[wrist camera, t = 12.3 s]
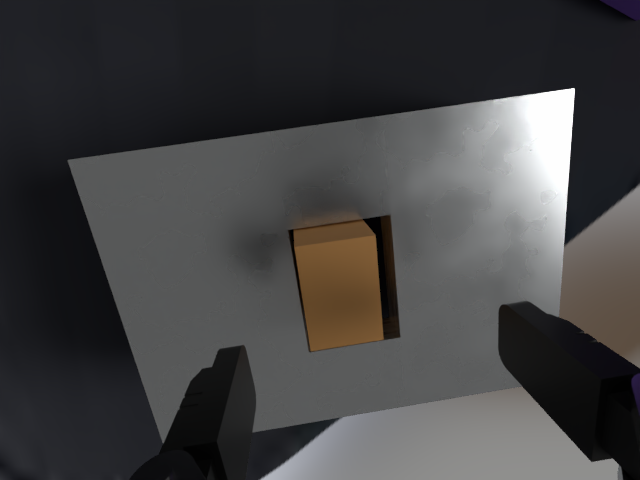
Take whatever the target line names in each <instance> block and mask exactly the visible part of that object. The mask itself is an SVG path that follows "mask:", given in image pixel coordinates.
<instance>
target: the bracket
mask: <svg viewBox="0 0 640 480" xmlns="http://www.w3.org/2000/svg"><path fill="white" fill-rule="evenodd" d="M600 1H602V2H604V3H606V4H607V5H609V6H611V7H613V8H614V9H616V10H618V11H620V12H621V13H623V14H625V15H627V16H628V17H630V18H632V19H634V20H635V21H636V20H639V19H640V0H600Z"/></svg>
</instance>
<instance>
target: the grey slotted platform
mask: <svg viewBox="0 0 640 480" xmlns="http://www.w3.org/2000/svg"><path fill="white" fill-rule="evenodd" d="M574 90H575V89H568V90H561V91H553V92H546V93H539V94H532V95H525V96H518V97H511V98H504V99H497V100H490V101H483V102H476V103H468V104H461V105H454V106H447V107H440V108H433V109H426V110H419V111H412V112H405V113H398V114H390V115H383V116H376V117H369V118H362V119H355V120H348V121H341V122H334V123H327V124H320V125H312V126H305V127H298V128H291V129H284V130H277V131H270V132H263V133H256V134H249V135H242V136H235V137H227V138H220V139H213V140H206V141H199V142H192V143H185V144H178V145H171V146H164V147H157V148H149V149H142V150H135V151H128V152H121V153H114V154H107V155H100V156H93V157H86V158H79V159H71V160H68V163H69V166H70V169H71V172H72V175H73V178H74V181H75V184H76V187H77V190H78V193H79V196H80V199H81V202H82V205H83V208H84V211H85V214H86V217H87V220H88V222H89V225H90V228H91V231H92V234H93V237H94V240H95V243H96V246H97V249H98V252H99V255H100V258H101V261H102V264H103V267H104V270H105V273H106V276H107V279H108V282H109V285H110V288H111V291H112V294H113V297H114V300H115V303H116V305H117V308H118V311H119V314H120V317H121V320H122V323H123V326H124V329H125V332H126V335H127V338H128V341H129V344H130V347H131V350H132V353H133V356H134V359H135V362H136V365H137V368H138V371H139V374H140V377H141V380H142V383H143V386H144V389H145V391H146V394H147V397H148V400H149V403H150V406H151V409H152V412H153V415H154V418H155V421H156V424H157V427H158V430H159V433H160V436H161V439H162V442H163V444H164V441H165V439H166V437H167V434H168V432H169V430H170V427H171V425H172V423H173V420H174V418H175V416H176V414H177V411H178V410H179V409H180V408H179V407H180V404H181V402H182V400H183V398H185V393H186V390H187V388H188V386H189V383H190V381H191V380H192V379H193V378H194V377H195V376H196V375H197V374H198V373H199V372H200V371H201V370H202V368H208V367H212V365H213V363H214V360H215V357H216V355H217V352H218V350H219V349H221V348H227V347H233V346H240V345H244V346H245V348H246V351H247V355H248V359H249V364H250V368H251V372H252V377H253V381H254V385H255V392H256V411H255V418H254V425H253V431H252V432H257V431H263V430H269V429H275V428H281V427H287V426H293V425H298V424H304V423H310V422H316V421H322V420H328V419H334V418H339V417H345V416H351V415H357V414H363V413H369V412H375V411H380V410H386V409H392V408H398V407H404V406H410V405H416V404H421V403H427V402H433V401H438V400H445V399H451V398H456V397H462V396H468V395H474V394H479V393H485V392H491V391H497V390H503V389H509V388H515V387H521V386H522V385H521V384H520V383H519V382H518V381H517V380H516V379H515V378H514V377H513V376H512V375H511V373H510V372H509V371H508V370H507V369H506V368H505V366H504V365H503V363H502V361H501V359H500V356H499V352H498V313H499V308H500V306H501V305H503V304H508V303H515V302H521V301H529V302H531V303H532V304H534V305H535V306H537V307H538V308H540V309H541V310H542V311H544V312H545V313H547V314H551V315H554V316H557V317H559V308H560V293H561V279H562V264H563V250H564V235H565V221H566V206H567V192H568V177H569V163H570V148H571V133H572V119H573V104H574ZM378 216H380V218H381V229H382V240H383V252H384V263H385V274H386V286H387V297H388V308H389V317H385V318H382V324H383V337H384V340H379V341H373V342H367V343H360V344H354V345H348V346H342V347H335V348H329V349H323V350H317V351H311V350H310V343H309V337H308V331H307V327H306V321H305V315H304V309H303V303H302V297H301V291H300V285H299V279H298V273H297V267H296V261H295V255H294V249H293V243H292V237H291V231H290V230H292V229H299V228H306V227H312V226H319V225H325V224H332V223H339V222H345V221H352V220H359V219H365V218H372V217H378Z"/></svg>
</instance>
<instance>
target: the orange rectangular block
mask: <svg viewBox="0 0 640 480" xmlns="http://www.w3.org/2000/svg"><path fill="white" fill-rule="evenodd" d="M293 230H294V248H295V254H296V260H297V267H298V273H299V280H300V286H301V292H302V299H303V305H304V311H305V318H306V324H307V331H308V337H309V343H310V350H311V351H317V350H323V349H329V348H335V347H342V346H348V345H354V344H360V343H367V342H373V341H379V340H384V337H383V324H382V311H381V298H380V285H379V273H378V260H377V247H376V235H375V234H374V233H373V231H372V230H371V229H370V228H369V227H368V225H367V224H366V223H365V222H364V221H363V219H359V220H352V221H345V222H339V223H332V224H325V225H319V226H312V227H306V228H299V229H293Z"/></svg>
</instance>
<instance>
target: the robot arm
mask: <svg viewBox="0 0 640 480" xmlns="http://www.w3.org/2000/svg"><path fill="white" fill-rule="evenodd" d="M498 352H499V356H500V359H501V361H502V363H503V365H504V366H505V368H506V369H507V370H508V371H509V372H510V373H511V375H512V376H513V377H514V378H515V379H516V380H517V381H518V382H519V383H520V384H521V385H522V387H523V388H524V389H525V390H526V391H527V392H528V393H529V394H530V395H531V396H532V397H533V399H534V400H535V401H536V402H537V403H538V404H539V405H540V406H541V407H542V408H543V409H544V411H545V412H546V413H547V414H548V415H549V416H550V417H551V418H552V419H553V420H554V421H555V423H556V424H557V425H558V426H559V427H560V428H561V429H562V430H563V431H564V432H565V433H566V434H567V436H568V437H569V438H570V439H571V440H572V441H573V442H574V443H575V444H576V445H577V447H578V448H579V449H580V450H581V451H582V452H583V453H584V454H585V455H586V456H587V457H588V458H589V460H590V461H591V462H594V461H599V460H605V459H611V458H613V459H614V460H615V461H616V462H617V463H618V464H619V468H618V480H640V368H638V367H637V366H635V365H634V364H632V363H631V362H629V361H628V360H626V359H625V358H623V357H622V356H620V355H619V354H617V353H615V352H614V351H613V350H611V349H610V348H608V347H607V346H605V345H603V344H602V343H601V342H597V340H596V339H595V338H593V337H592V336H590V335H589V334H585V333H584V331H583V330H581V329H580V328H578V327H577V326H575V325H574V324H572V323H571V322H569V321H567V320H564V319H561V318H559V317H557V316H554V315H551V314H547V313H545V312H544V311H542V310H541V309H540V308H538V307H537V306H535V305H534V304H532V303H531V302H529V301H521V302H515V303H508V304H503V305H501V306H500V308H499V313H498ZM179 408H180V409H179V410H178V411H177V414H176V416H175V418H174V420H173V423H172V425H171V427H170V430H169V432H168V434H167V437H166V439H165V441H164V444H163V446H162V448H161V450H160V453H159V455H157V456H155V457H153V458H151V459H150V460H148V461H147V462H145V463H144V464H143V465H142V466H141V467H139V468H138V469H137V471H136V472H135V473H134V474H133V475H132V476H131V478H130V479H129V480H245V479H246V472H247V466H248V459H249V452H250V445H251V438H252V431H253V425H254V418H255V411H256V392H255V385H254V381H253V377H252V372H251V368H250V364H249V359H248V355H247V351H246V348H245V346H244V345H240V346H233V347H227V348H221V349H219V350H218V352H217V355H216V357H215V360H214V363H213V365H212V367H208V368H202V370H201V371H200V372H199V373H198V374H197V375H196V376H195V377H194V378H193V379H192V380H191V381H190V383H189V386H188V388H187V390H186V393H185V398H183V400H182V402H181V404H180V407H179Z"/></svg>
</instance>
